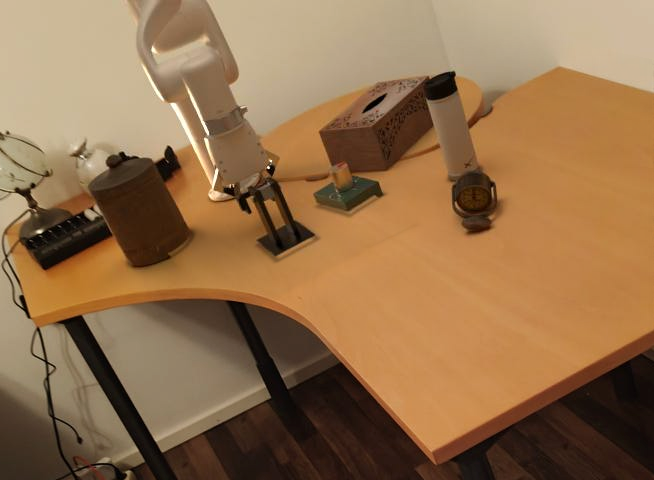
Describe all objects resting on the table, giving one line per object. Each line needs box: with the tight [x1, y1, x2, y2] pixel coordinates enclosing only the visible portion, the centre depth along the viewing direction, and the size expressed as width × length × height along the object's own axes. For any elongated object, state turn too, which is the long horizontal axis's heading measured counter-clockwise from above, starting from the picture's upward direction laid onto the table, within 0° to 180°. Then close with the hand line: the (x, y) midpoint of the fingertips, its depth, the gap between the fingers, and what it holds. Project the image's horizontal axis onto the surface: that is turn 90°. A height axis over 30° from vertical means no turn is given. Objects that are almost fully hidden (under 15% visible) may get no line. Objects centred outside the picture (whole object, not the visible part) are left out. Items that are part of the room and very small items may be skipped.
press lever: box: [242, 183, 275, 202], centre depth 167 cm, size 12×5×2 cm, turn 28°
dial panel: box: [312, 174, 384, 212], centre depth 175 cm, size 12×9×3 cm
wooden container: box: [87, 154, 191, 267], centre depth 180 cm, size 15×15×22 cm
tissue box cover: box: [318, 75, 434, 173], centre depth 193 cm, size 26×14×10 cm, turn 149°
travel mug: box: [423, 70, 480, 182], centre depth 164 cm, size 6×7×20 cm
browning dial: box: [328, 162, 354, 192], centre depth 173 cm, size 4×4×5 cm
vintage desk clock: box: [450, 170, 498, 232], centre depth 151 cm, size 7×13×10 cm
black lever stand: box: [247, 176, 316, 257], centre depth 165 cm, size 11×9×13 cm
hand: (260, 205), depth 173 cm, fingers closed on press lever, 5 cm apart
